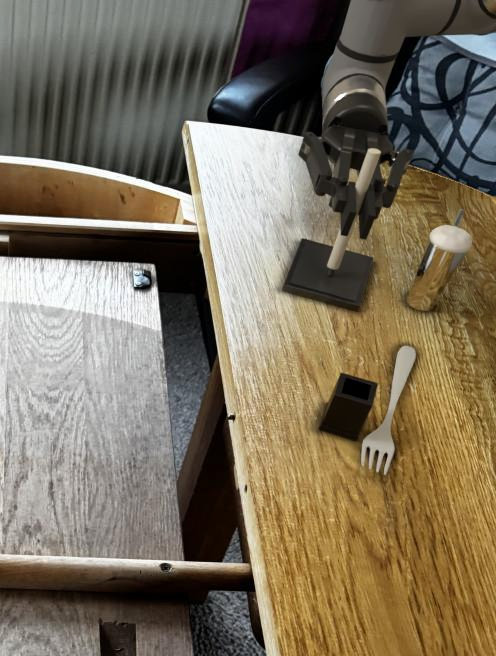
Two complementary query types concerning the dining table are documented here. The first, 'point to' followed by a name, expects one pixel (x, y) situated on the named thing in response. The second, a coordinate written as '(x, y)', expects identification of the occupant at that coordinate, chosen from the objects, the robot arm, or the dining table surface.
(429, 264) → the milkshake
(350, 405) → the pen stand
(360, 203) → the stylus
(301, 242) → the tablet
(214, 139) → the dining table surface
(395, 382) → the fork
